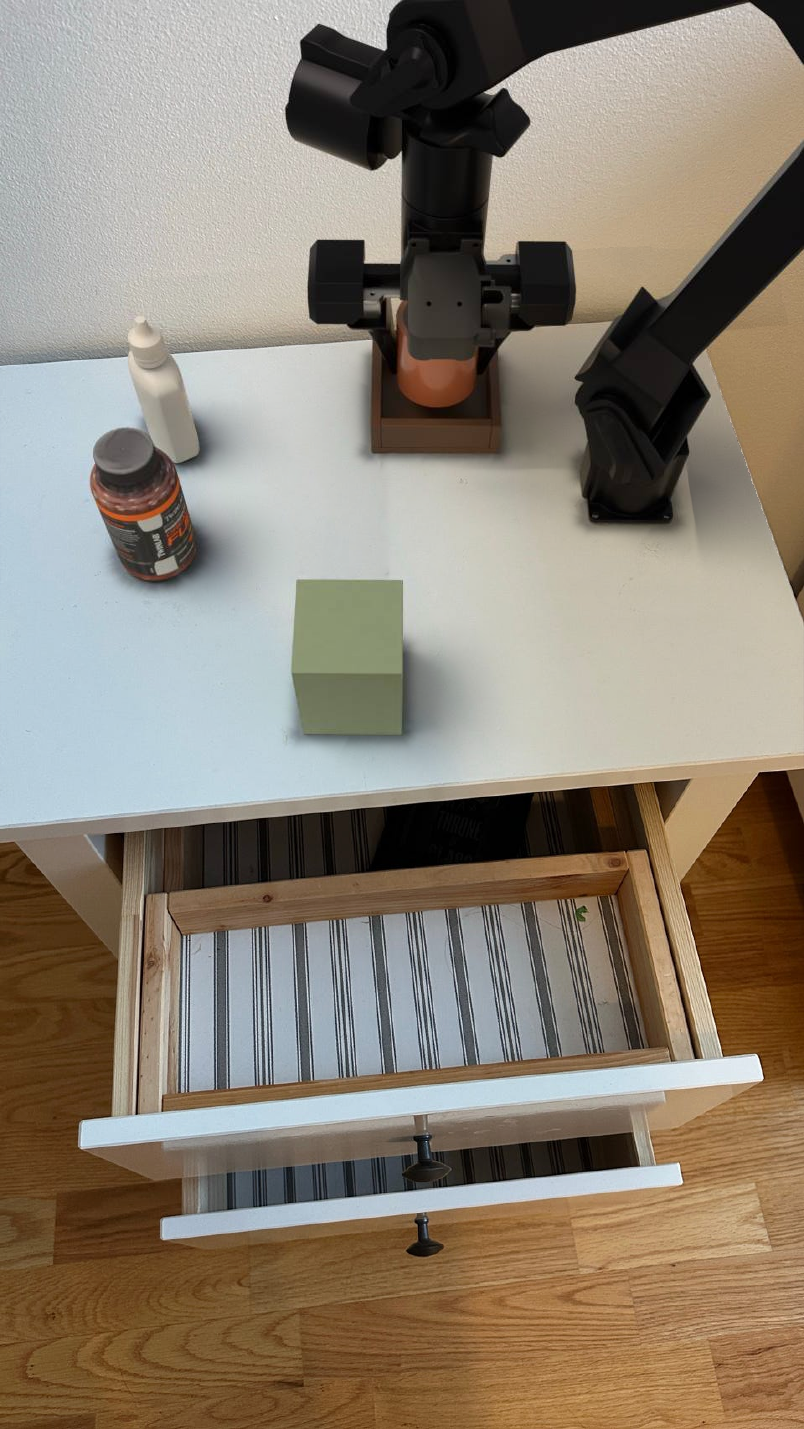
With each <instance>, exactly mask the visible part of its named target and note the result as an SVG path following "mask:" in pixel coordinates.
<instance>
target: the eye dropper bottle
mask: <svg viewBox="0 0 804 1429" xmlns="http://www.w3.org/2000/svg"><path fill="white" fill-rule="evenodd" d="M127 341H128V346H129V348H130V349H129V352H128V353H127V354H128V355H127V366H128V371H129V374H130V377H131V380H132V383H133V384H132V385H133V387H134V390H135V394H136V396H137V399H138V403H139V405H140V409H141V412H142V415H143V418H144V421H145V424H146V427H147V431H148V434H149V437H150V438H151V440H152V442H153V444H154V447H156V448H158V449H160V450H162V451H163V452H164V453H166V454H167V456H169V457H170V459H171V460H172V461H173V463H174V464H180V463H183V462H186V461H187V460H190V459H193V458H194V457H197V456H198V455H199V453H200V441H199V436H198V432H197V429H196V425H195V421H194V417H193V413H192V410H191V406H190V402H189V398H188V394H187V390H186V387H185V383H184V379H183V376H182V372H181V370H180V367H179V365H178V363H177V360H175V358H174V356H173V355H172V354H171V353H170V352H169V351H168V350H167V348H166V344H165V339H164V336H163V333H162V331H161V329H160V328H159V327H158V326H156V325H154V324H152V323H148V322H147V319H146V318H145V317H144V316H142V315H139V316H136V317H135V319H134V327H133V328H131V329H130V330H129V332H128V334H127Z"/></svg>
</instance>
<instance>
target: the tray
mask: <svg viewBox="0 0 804 1429" xmlns="http://www.w3.org/2000/svg"><path fill="white" fill-rule="evenodd" d="M395 337H396V329H395ZM371 339H372V342H371V385H370V452H371V453H373V454H375V453H376V454H377V453H381V454H383V453H384V454H385V453H386V454H387V453H389V454H390V453H393V454H415V453H416V454H499V452H500V445H501V437H502V430H503V416H502V398H501V380H500V364H499V349H498V350H497V352H496V353H495V355H494V357H493V358H492V360H491V361H490V363H489V365H488V366H487V368H486V369H485V371H484V373H483V374H482V375H477V379H476V384H475V387H474V389H473V391H472V392H471V393H470V395H469V396H468V397H467V398H465V399H464V400H463V401H461V402H459V403H457V404H454V405H451V406H447V407H427V406H423V405H420V404H417V403H415V402H413V401H411V400H410V399H408V398H407V397H406V396H405V395H404V394H403V393H402V392H401V390H400V389H399V387H398V384H397V381H396V374H391V372H390V370H389V368H388V366H387V364H386V362H385V360H384V358H383V356H382V354H381V352H380V350H379V348H378V346H377V344H376V342H375V341H374V339H373V338H372V337H371Z"/></svg>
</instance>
